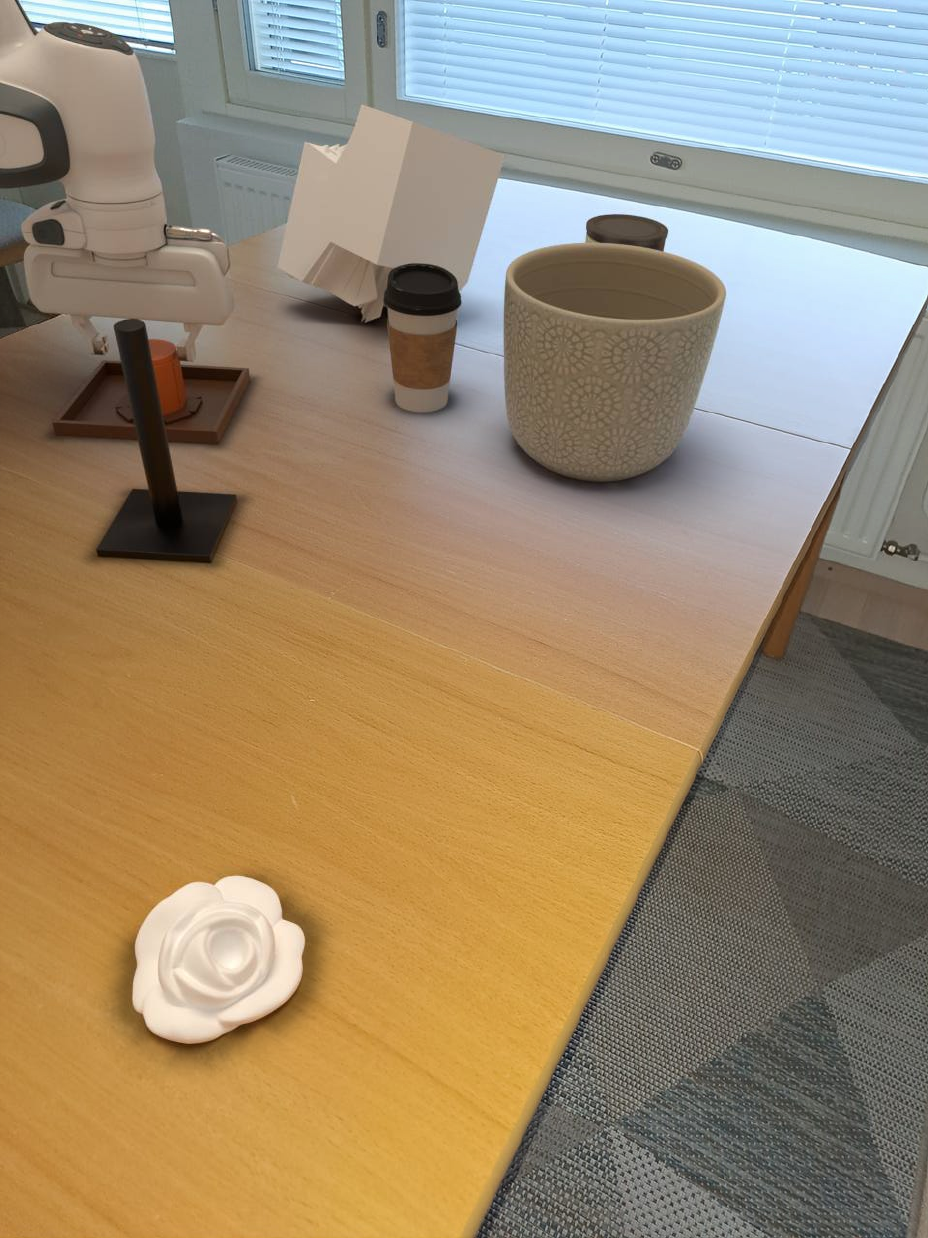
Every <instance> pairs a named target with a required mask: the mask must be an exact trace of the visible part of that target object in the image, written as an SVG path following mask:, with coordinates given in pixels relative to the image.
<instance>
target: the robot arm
mask: <svg viewBox="0 0 928 1238" xmlns="http://www.w3.org/2000/svg"><path fill="white" fill-rule="evenodd" d="M144 78H145V77H144V75H143V71H142V68H141V65H140V62H139V59H138V57H137V55H136V53H135V52H134V50H133V48H132V46H130V45H129V44H128V43H127V42H126V41H125V40H124V38H122V37H120V36H119V35H117V34H115V33H113V32H111V31H109V30H106V29H104V28H101V27H97V26H95V25H89V24H85V23H81V22H80V23H79V22H68V21H54V22H51V23H46V24H44V25H43V26H42V27H41V28H40V30H39V31H38V30H37V28H36V27H35V26H34V24H33V23H32V21H31V20H30V18H29V17H28V15H27V13H26V11H25V9H24V8H23V5H22V4H21V3H20V1H19V0H0V189H2V190H3V189H5V190H6V189H17V188H27V187H33V186H40V185H44V184H48V183H53V182H58V183H60V184H62V185H63V186H64V187H63V188H64V191H65V195H66V198H62V199H59V200H55V201H52V202H51V201H50V202H49V203H47V204H45V205H43V206H41V207H40V208H38V209H36V210H35V211H33V212H32V213H30V215H29V216H27V217H26V219H24V221H23V222H22V223H21V225H20V227H21V233H22V236H23V239H24V240H25V242H26V243H28V244H29V245H28V246H27V247H26V248H25V251H24V253H23V266H24V275H25V281H26V287H27V291H28V295H29V298H30V301H31V303H32V304H33V306H35V308H37V310H39V312H41V313H45V314H58V315H70V320H71V324H72V325H73V327H74V328H75V329H76V330H77V331H78V332H79V334H80V335H81V336H82V337H83V338H84V340H85V341H86V343H87V347H88V351H89V354H90V355H95V356H106V354H107V353H108V352H109V343H108V342H107V341H108V336H107V334H106V333H99V331H98V330H97V329H96V328H95V326H94V324H93V323H92V322H91V320H90V319H91V318H92V317H96V318H97V317H99V318H112V319H123V320H126V319H137V320H141V321H152V322H167V323H179V324H183V329H184V330H183V331H184V332H185V333H189V335H188V337H187V339H180V341H179V342H178V344H177V345H175V346H176V350H177V353H178V354H179V355H178V360H179V361H180V362H189V363H190V362H191V363H194V361H195V359H196V357H197V349H196V340H197V339H198V336H199V334H200V332H201V330H202V328H203V326H204V325H205V326H223V325H225V323H226V322H227V321H228V320H229V319H230V317H231V316H232V314H233V312H234V310H235V297H234V291H233V287H232V282H231V278H230V274H229V270H230V267H231V260H230V259H231V258H230V249H229V246H228V243H227V242H226V241H225V239H224V238H223V237H222V236H220V235H219V234H217V233H214V232H213V230H212V229H211V228H208V227H207V228H206V227H197V228H196V227H195V228H193V227H187V226H182V225H169V224H168V217H167V211H166V204H165V197H164V196H165V195H164V190H163V185H162V181H161V179H160V177H159V175H158V172H157V169H156V163H155V148H156V135H155V127H154V122H153V116H152V110H151V105H150V101H149V94H148V89H147V86H146V81H145V79H144Z"/></svg>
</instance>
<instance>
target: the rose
mask: <svg viewBox="0 0 928 1238" xmlns="http://www.w3.org/2000/svg"><path fill="white" fill-rule="evenodd" d="M305 945H306V937H305V934H304V931H303V930H302V928H301V927H300V926H299V925H298V924H296V923H294V922H291V921H289V920H286V919H284V918H283V908H282V904H281V900H280V898H279V895H278V894H277V892H276V891H275V890H274V889H273V888H272V887H271V886H269V885H268V884H266V883H264V882H262V881H259V880H257V879H256V878H252V877H247V876H243V875H229V876H225V877H223V878H221V879H219V880H218V881H217V882H215V884H212V883H211V882H205V881H194V882H190V883H187V884H185V885H184V886H182V887H180V888H179V889H177V890H176V891H175V892H173V893H172V894H171V895H169V896H167V897H166V898H164V899H162V900H161V901H159V903H157V904H156V905H155V906H154V907H153V908H152V910H150V912H149V913H148V914H147V916H146V917H145V919H144V921H143V923H142V924H141V927H140V928H139V931H138V932H137V935H136V939H135V942H134V954H135V960H136V969H135V973H134V976H133V982H132V997H131V999H132V1007H133V1008H134V1010H135V1012H137V1013H139V1014H140V1015H142V1016H143V1020H144V1022H145V1025H146V1027H147V1028H148V1030H149V1032H152V1033H153V1034H154V1035H156V1036H158V1037H160V1038H163V1039H166V1040H169V1041H172V1042H177V1043H182V1044H188V1045H189V1044H200V1043H201V1044H202V1043H206V1042H210V1041H213V1040H216V1039H217V1038H219V1037H221V1036H222V1035H225V1034H227V1033H229V1032H232V1031H233V1030H235V1029H236V1028H238V1027H239V1026H241V1025H244V1024H250V1023H253V1022H255V1021H258V1020H260V1019H262V1018H264V1017H266V1016H268V1015H269V1014H271V1013H273V1012H274V1011H276V1010H277V1009H278V1008H280V1007H282V1005H284V1004H286V1003H287V1002H288V1001H289V1000H290V998H291V997H292V996H293V995H294V994H295V992H296V991H297V989H298V988H299V986H300V983H301V981H302V976H303V971H304V968H303V967H304V966H303V958H302V956H303V953H304V949H305Z"/></svg>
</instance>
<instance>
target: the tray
mask: <svg viewBox="0 0 928 1238" xmlns="http://www.w3.org/2000/svg"><path fill="white" fill-rule="evenodd" d="M181 370H182V376H183V381H184V387H185V388H187V387H188V388H190V389H191V390H192V391H194V392H195V393H197V394H198V395H200V396H201V398H202V404H201V406H200V407H199V409H198V411H197V413H196V414H195V415H194V414H192V417H190V418H187V419H184V420H181V421H178V422H175V423H172V424H169V425H167V424H165V423H164V424H165V429H166V434H167V439H168V443H177V444H178V443H179V444H181V443H182V444H196V445H197V444H198V445H212V446H213V445H216V446H219V445H220V443H221V441H222V439H223V437H224V435H225V433H226V430H227V429H228V427H229V424H230V423H231V421H232V419H233V417H234V415H235V413H236V410H237V409H238V407H239V404H240V402H241V400H242V398H243V396H244V395H245V392H246V390H247V388H248V386H249V385H250V382H251V375H250V368H249V367H234V366H233V367H232V366H217V365H216V366H215V365H199V364H181ZM124 395H128V392H127V387H126V383H125V378H124V373H123V369H122V364H121V360H110V359H109V360H107V359H106V360H105V359H103V360H101V361H100V362H99V364H98V365H97V366H96V367H95V369H94V370H92V373H90V375H89V376H88V377H87V378H86V380H85V381H84V382H83V383H82V384H81V386H80V387H79V388H78V390H77V391H76V392H75V393H74V395H73V396H72V397H71V398H70V399H69V400H68V402H67V404H66V405H65V406H64V407H63V408H62V409H61V411H60V412H59V413H58V414H57V416H56V417H55V418H54V420H53V421H52V423H51V424H52V426H53V430H54V433H55V437H73V438H89V439H90V438H91V439H108V440H127V441H138V438H137V434H136V429H135V424H134V422H131V423H129V422H128V421H126V420H125V419H124V418H123V417H121V416H120V415H119V414H118V413H117V412H116V406H117V404H118V403H119V401H120V400H121V399H122V397H123V396H124Z"/></svg>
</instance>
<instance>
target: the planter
mask: <svg viewBox="0 0 928 1238" xmlns="http://www.w3.org/2000/svg"><path fill="white" fill-rule="evenodd" d="M503 294H504V297H503V384H504V385H503V387H504V400H505V411H506V419H507V422H508V426H509V429H510V431H511V434H512V436H513V438H514V439H515V441H516V443H517V444H518V446H519V447H520V448H521V449H522V450H523V452H525V453H526V454H527V456H529V457H530V458H531V459H532V460H533V461H535V462H536V463H538V464H539V465H541V466H542V467H544V468H545V469H547V470H549V471H551V472H553V473H555V474H558V475H560V476H563V477H566V478H569V479H573V480H579V481H585V482H596V483H597V482H598V483H602V482H603V483H605V482H607V483H608V482H618V481H623V480H627V479H631V478H634V477H637V476H639V475H640V476H641V475H642V474H645V473H647V472H649V471H651V470H652V469H654V468H656V467H657V466H659V465H661V464H662V463H663V462H664V461H665V460H667V459H668V458H669V457H670V456H671V455H672V454H673V453H674V452H675V450H676V449H677V447H678V446H679V444H680V443H681V441H682V439H683V437H684V435H685V433H686V431H687V428H688V426H689V423H690V420H691V418H692V416H693V412H694V409H695V407H696V404H697V401H698V398H699V395H700V392H701V389H702V385H703V382H704V378H705V375H706V372H707V368H708V365H709V362H710V360H711V356H712V353H713V349H714V346H715V341H716V339H717V335H718V332H719V331H718V330H719V327H720V324H721V320H722V316H723V311H724V307H725V302H726V296H727V290H726V286H725V284H724V283H723V281H722V280H721V279H720V278H719V276H717V275H716V274H715V273H714V272H712V271H711V270H709V269H708V267H707V268H706V267H705V266H704V265H701V264H699V263H697V262H695V261H693V260H691V259H688V258H686V257H683V256H680V255H677V254H674V253H670V252H667V251H664V252H663V251H659V250H654V249H649V248H644V247H638V246H631V245H623V244H611V243H585V242H572V243H563V244H555V245H548V246H545V247H541V248H537V249H534V250H531V251H530V250H529V251H528V252H526V253H523V254H521V255H520V256H518V257H517V258H515V259H514V260H512V261H511V263H510V264H509V265H508V266H507V268H506V272H505V280H504V293H503Z"/></svg>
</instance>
